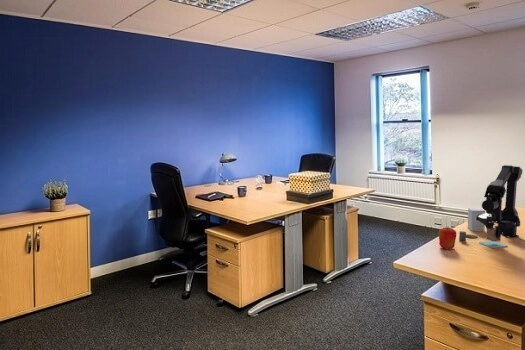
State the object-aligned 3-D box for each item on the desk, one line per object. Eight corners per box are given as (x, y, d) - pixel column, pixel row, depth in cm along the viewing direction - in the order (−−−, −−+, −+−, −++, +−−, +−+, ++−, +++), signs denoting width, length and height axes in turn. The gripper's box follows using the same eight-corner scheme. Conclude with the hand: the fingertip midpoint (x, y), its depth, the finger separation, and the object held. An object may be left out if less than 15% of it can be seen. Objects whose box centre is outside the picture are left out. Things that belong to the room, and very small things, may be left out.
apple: (438, 245, 201) (438, 223, 200) (455, 246, 198) (456, 224, 196) (437, 249, 193) (438, 227, 192) (456, 251, 190) (457, 229, 188)
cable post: (462, 239, 209) (463, 231, 208) (467, 241, 206) (467, 232, 205) (457, 240, 208) (458, 231, 207) (462, 242, 205) (462, 233, 204)
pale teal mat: (493, 241, 204) (493, 240, 204) (507, 246, 195) (507, 245, 195) (479, 243, 202) (479, 242, 202) (493, 248, 193) (493, 247, 193)
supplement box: (484, 231, 223) (485, 210, 222) (471, 231, 225) (472, 210, 223) (480, 228, 230) (481, 208, 229) (467, 227, 232) (467, 207, 230)
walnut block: (493, 238, 201) (493, 227, 200) (500, 240, 196) (501, 229, 196) (486, 239, 200) (486, 228, 199) (493, 241, 195) (493, 230, 195)
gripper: (468, 205, 203) (467, 233, 205) (497, 213, 185) (495, 243, 187) (485, 204, 206) (484, 231, 208) (515, 211, 188) (513, 241, 190)
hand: (493, 237), depth 198 cm, fingers closed on walnut block, 4 cm apart
